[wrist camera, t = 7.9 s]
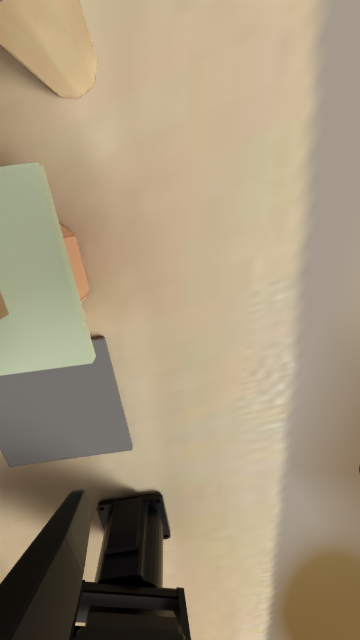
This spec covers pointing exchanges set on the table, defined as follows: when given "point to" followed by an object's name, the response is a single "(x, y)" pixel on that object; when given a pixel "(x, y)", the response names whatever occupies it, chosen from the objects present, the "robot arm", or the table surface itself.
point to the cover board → (36, 280)
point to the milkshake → (50, 43)
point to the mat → (62, 412)
